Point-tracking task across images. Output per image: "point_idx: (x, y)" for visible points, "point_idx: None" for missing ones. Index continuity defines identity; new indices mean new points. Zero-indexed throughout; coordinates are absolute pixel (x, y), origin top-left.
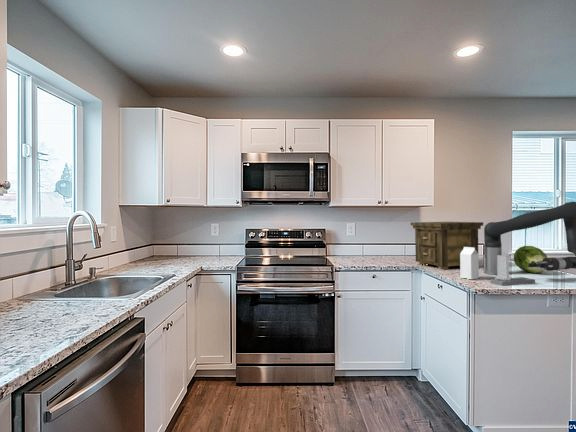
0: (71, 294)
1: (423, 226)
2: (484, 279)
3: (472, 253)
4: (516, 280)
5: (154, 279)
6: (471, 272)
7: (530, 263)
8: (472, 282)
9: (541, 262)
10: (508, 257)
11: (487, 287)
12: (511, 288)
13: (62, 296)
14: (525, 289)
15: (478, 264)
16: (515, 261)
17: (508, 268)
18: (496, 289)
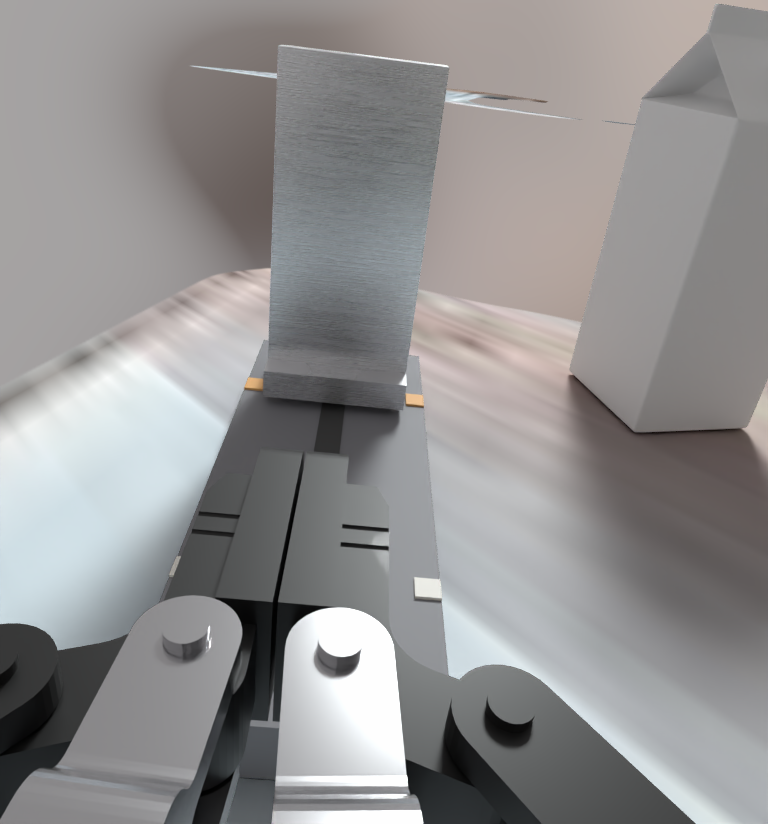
0: (502, 99)
1: None
2: (602, 452)
3: (714, 101)
4: (244, 450)
5: (624, 123)
6: (587, 301)
7: (278, 449)
8: (467, 336)
9: (11, 818)
10: (277, 67)
11: (267, 302)
12: (136, 353)
13: (490, 97)
14: (22, 385)
15: (685, 268)
16: None
17: (272, 236)
18: (185, 296)
